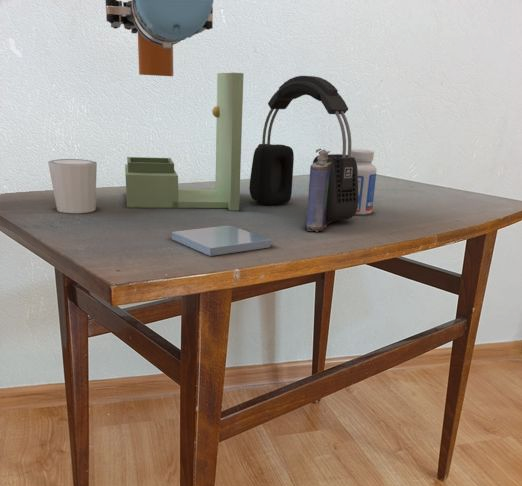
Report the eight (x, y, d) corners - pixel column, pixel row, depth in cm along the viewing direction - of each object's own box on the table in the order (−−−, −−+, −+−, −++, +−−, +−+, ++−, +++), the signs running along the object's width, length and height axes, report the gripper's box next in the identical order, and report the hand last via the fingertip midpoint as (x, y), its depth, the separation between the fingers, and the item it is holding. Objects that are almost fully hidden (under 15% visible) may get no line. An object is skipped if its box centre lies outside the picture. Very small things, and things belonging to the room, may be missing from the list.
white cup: (79, 203, 94) (76, 157, 91) (109, 209, 90) (106, 162, 87) (42, 208, 89) (37, 160, 86) (72, 216, 85) (68, 165, 82)
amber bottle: (132, 74, 86) (128, -16, 82) (150, 75, 90) (148, -10, 86) (162, 75, 84) (160, -16, 80) (179, 76, 89) (178, -10, 84)
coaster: (210, 256, 69) (210, 247, 69) (171, 239, 75) (171, 231, 75) (270, 247, 74) (270, 239, 74) (229, 232, 81) (229, 225, 80)
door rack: (127, 210, 91) (121, 66, 83) (126, 192, 105) (120, 67, 97) (239, 210, 95) (243, 73, 86) (223, 193, 109) (225, 73, 101)
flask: (320, 232, 83) (326, 152, 78) (300, 230, 84) (305, 151, 79) (334, 221, 91) (340, 147, 87) (315, 219, 92) (320, 146, 87)
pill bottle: (362, 208, 102) (369, 149, 98) (377, 215, 97) (385, 152, 93) (333, 209, 100) (339, 148, 96) (347, 215, 95) (354, 152, 91)
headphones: (244, 201, 103) (248, 74, 94) (274, 198, 106) (280, 76, 98) (329, 226, 86) (342, 75, 78) (360, 222, 90) (376, 77, 81)
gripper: (86, 39, 68) (92, 48, 89) (239, 49, 72) (211, 55, 93) (80, -37, 65) (89, -10, 86) (241, -23, 69) (212, 0, 90)
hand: (152, 24), depth 89 cm, fingers closed on amber bottle, 5 cm apart
